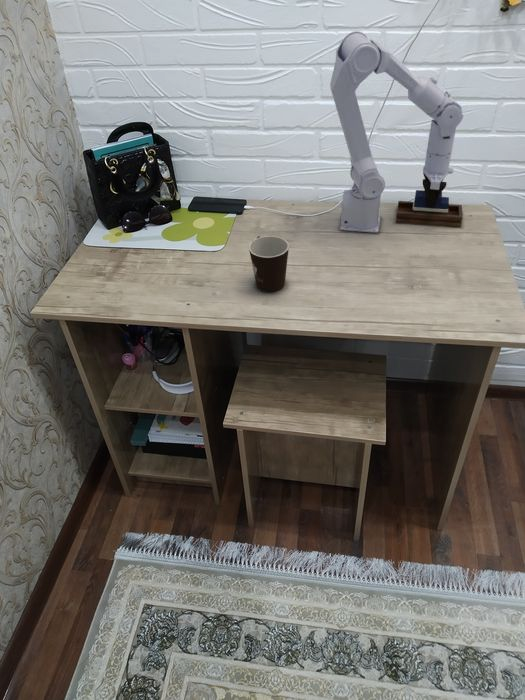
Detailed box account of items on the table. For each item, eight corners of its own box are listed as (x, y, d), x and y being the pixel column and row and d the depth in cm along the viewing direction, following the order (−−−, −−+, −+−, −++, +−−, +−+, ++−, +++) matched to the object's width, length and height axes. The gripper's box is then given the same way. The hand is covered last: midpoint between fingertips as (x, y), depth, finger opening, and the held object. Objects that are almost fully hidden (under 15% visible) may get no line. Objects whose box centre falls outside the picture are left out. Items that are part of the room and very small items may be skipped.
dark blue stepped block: (412, 210, 145) (414, 196, 143) (413, 203, 148) (415, 189, 145) (447, 212, 144) (450, 198, 141) (447, 205, 146) (450, 191, 144)
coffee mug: (288, 296, 126) (287, 258, 119) (249, 295, 127) (246, 257, 120) (292, 266, 134) (291, 229, 127) (255, 265, 135) (253, 228, 128)
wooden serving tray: (395, 222, 146) (396, 214, 145) (397, 207, 152) (398, 199, 150) (460, 227, 143) (462, 218, 141) (460, 212, 149) (461, 203, 147)
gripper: (457, 165, 130) (446, 218, 139) (456, 139, 140) (446, 190, 149) (425, 163, 131) (417, 216, 140) (426, 138, 141) (419, 188, 151)
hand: (430, 202), depth 145 cm, fingers closed on dark blue stepped block, 3 cm apart
